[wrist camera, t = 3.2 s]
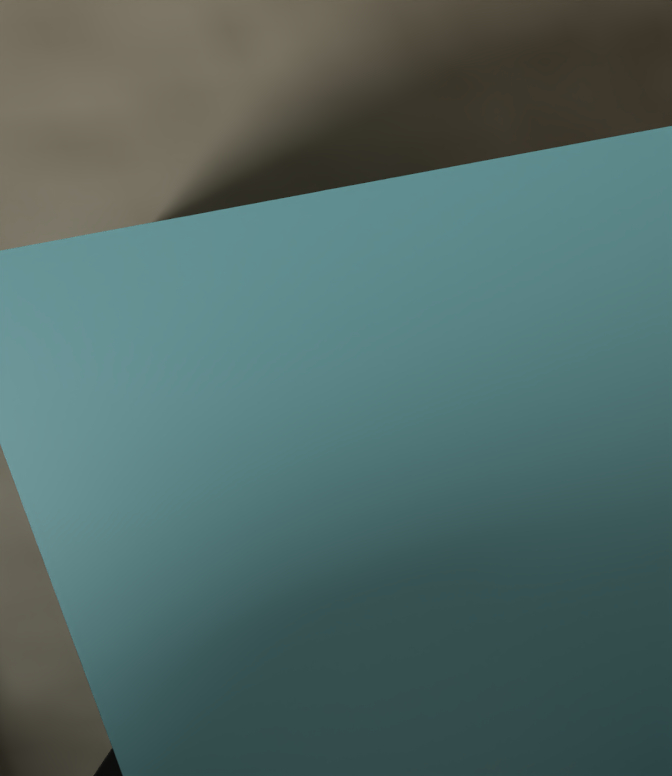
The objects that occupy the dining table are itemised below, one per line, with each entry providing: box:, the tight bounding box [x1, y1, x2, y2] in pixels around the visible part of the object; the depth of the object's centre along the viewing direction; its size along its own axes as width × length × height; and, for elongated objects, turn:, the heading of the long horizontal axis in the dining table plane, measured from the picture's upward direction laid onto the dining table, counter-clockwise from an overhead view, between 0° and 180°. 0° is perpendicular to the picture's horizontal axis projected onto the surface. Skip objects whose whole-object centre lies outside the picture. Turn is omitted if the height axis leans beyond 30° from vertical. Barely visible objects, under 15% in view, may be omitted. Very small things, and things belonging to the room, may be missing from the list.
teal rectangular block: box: [0, 126, 672, 776], centre depth 7 cm, size 12×4×5 cm, turn 10°
